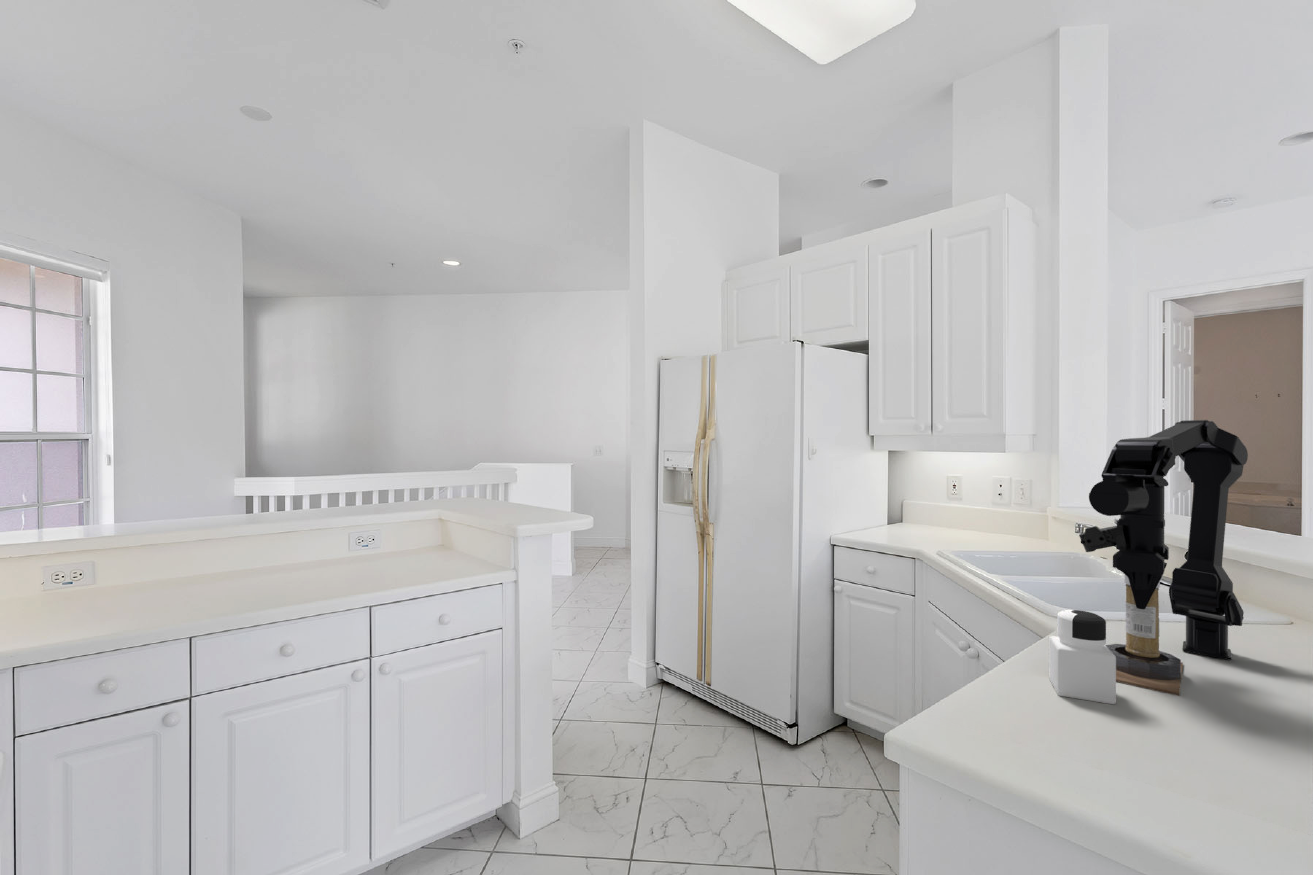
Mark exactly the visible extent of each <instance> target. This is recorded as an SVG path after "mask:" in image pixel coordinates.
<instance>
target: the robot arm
mask: <svg viewBox="0 0 1313 875" xmlns="http://www.w3.org/2000/svg"><path fill="white" fill-rule="evenodd" d="M1177 457H1179V458H1180V459H1181V460H1182V461H1183V471H1184V472H1185V473H1186V475H1187V476H1188V477H1189V479H1190V480H1191V482H1192V483H1193V491H1192V492H1193V493H1192V500H1191V501H1192V504H1191V513H1190V514H1191V515H1190V525H1189V535H1188V545H1187V557H1186V561H1185V562H1184V563H1183V564H1182V565H1180V567H1174V568H1173V571H1172V572H1171V576H1172V577H1171V579H1172V580H1171V583H1170V584H1169V587H1168V595H1169V597H1168V598H1169V600H1170V606H1171V607H1170V608H1171V611H1172V614H1173V615H1179V616H1184V617H1185V640H1184V641H1183V642H1182V651H1183V652H1186V653H1191V654H1197V655H1201V656H1206V657H1207V656H1208V657H1213V658H1218V659H1223V660H1231V661H1232V658H1233V657H1232V651H1231V649H1230V648H1229V626H1230V627H1233V626H1236V627H1241V626H1243V620H1244V619H1245V618H1244V614H1245V612H1244V609H1243V608H1242V606H1241V604H1240V602H1239V600H1238V598H1237V597H1236V594H1235V593H1234V590H1233V589H1234V587H1233V586H1234V585H1233V584H1234V583H1233V580H1232V579H1231V578H1230V577H1229V575H1228V573H1227V572H1226V570H1225V569H1224V567H1223V557H1224V556H1223V555H1224V544H1225V534H1226V525H1227V524H1226V522H1227V510H1228V500H1229V498H1228V497H1229V489H1230V487H1232V486H1233V485H1234V484H1235V483H1236V482H1237V480H1238V479H1240V478H1241V477H1242V475H1243V473H1244V472H1243V471H1244V465H1246V464H1247V462H1248V458H1249V454H1248V449H1247V447H1246V446H1245V445H1244V442H1242V441H1241V439H1240V438H1239V437H1238V436H1237V435H1236V434H1233V433H1231V432H1229V431H1226V430H1225V429H1222V428H1219V427H1218V425H1217V424H1216V423H1215V422H1214V421H1212V420H1211V421H1209V420H1208V419H1197V420H1196V419H1195V420H1193V419H1192V420H1180V421H1177V422H1175V423H1174V425H1172V426H1170V427H1168V428H1166V429H1164V430H1161V431H1159V432H1156V433H1154V434H1152V435H1150V436H1147V437H1133V438H1122V439H1119V440H1118V441H1117V442H1116V443H1115V444H1114V446H1113V447H1112V449H1111V451H1110V454H1109V456H1108V458H1107V461H1106V463H1105V466H1104V468H1103V469H1102V473H1101V478H1102V480H1101V481H1099V482H1097V483H1095V484H1094V485H1093V486H1092V488H1091V490H1090V492H1089V493H1088V500H1089V503H1090V506H1091V508H1093V510H1094V511H1096V512H1097V513H1099V514H1101V515H1104V516H1107V517H1114V516H1119V517H1120V518H1118V520H1116V525H1113V526H1107V527H1103V528H1100V527H1098V526H1097V525H1094V526H1092V527H1086V528H1085V529H1084V532H1081V533H1080V534H1078V535H1079V536H1078V537H1079V538H1080V544H1082V545H1083V547H1084V550H1085V553H1091V552H1095V551H1096V550H1101V549H1107V548H1112V547H1115V548H1116V550H1118V551H1116V552H1115V553H1114V554H1113V555H1112V568H1115V569H1117V570H1118V571H1120V572H1121V573H1122V574H1124V576H1125V575H1126V576H1127V577H1128V579H1129V582H1130V586H1131V589H1132V593H1133V597H1134V600H1135V604H1136V607H1137V608H1138V609H1145V608H1146V606H1147V604H1148V603H1149V601H1150V599H1151V597H1152V595H1153V593H1154V591H1155V589H1156V587H1157V585H1158V583H1159V581H1160V582H1161V579H1162V578H1163V575H1164V574H1165V570H1166V568H1167V565H1168V562H1165V561H1168V560H1169V558H1170V554H1169V553H1170V552H1169V551H1170V549H1169V546H1167V545H1166V544H1165V527H1166V519H1165V487H1168V486H1169V482H1168V480H1167V479H1166V478H1164V477H1167V475H1168V473H1169V471H1170V470H1171V469H1172V468H1173V467H1174V466H1175V465H1176V458H1177ZM1238 481H1239V480H1238Z"/></svg>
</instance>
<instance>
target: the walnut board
mask: <svg viewBox="0 0 1313 875" xmlns="http://www.w3.org/2000/svg"><path fill="white" fill-rule="evenodd" d="M1183 667H1184V663H1183V662H1182V661H1181V675H1180V679H1175V680H1158V679H1148V678H1144V677H1139V676H1135V675H1130V674H1127V673H1124V672H1121V671H1118V670H1116V683H1117V682H1118V683H1122V684H1125V685H1130V686H1135V687H1139V688H1142V689H1148V690H1152V691H1156V692H1157V691H1158V692H1161V693H1165V694H1169V695H1173V696H1177V697H1178V696H1180V691H1181V685H1182V684H1181V683H1182V674H1183Z"/></svg>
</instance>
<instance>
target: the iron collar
mask: <svg viewBox="0 0 1313 875" xmlns="http://www.w3.org/2000/svg"><path fill="white" fill-rule="evenodd" d="M1105 646H1106V647H1107V648H1108V649H1109V650H1110V651H1111V652H1112V653H1113V654H1114V655H1115V656H1116V670H1118V671H1121V672H1124V673H1127V674H1130V675H1135V676H1139V677H1144V678H1148V679H1158V680H1175V679H1180V675H1181V662H1182V661H1181V660H1182V659H1180V658H1178V657H1177V656H1174V655H1173V654H1171V653H1169V652H1165V651H1161V650H1159V653H1160V656H1159V657H1155V658H1148V657H1141V656H1137V655H1134V654H1131V653H1129V652H1127V651H1126V649H1125V647H1126V644H1123V643H1114V644H1113V643H1111V644H1105Z"/></svg>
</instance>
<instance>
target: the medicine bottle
mask: <svg viewBox="0 0 1313 875" xmlns="http://www.w3.org/2000/svg"><path fill="white" fill-rule="evenodd" d="M1056 622H1057V623H1056V625H1057V626H1056V627H1057V630H1056V633H1057V635H1050V636H1049V638H1048V639H1049V641H1048V642H1049V644H1048V646H1049V648H1048V651H1049V652H1048V655H1049V656H1048V659H1049V660H1048V661H1049V662H1048V669H1049V671H1048V673H1049V674H1048V676H1049V677H1048V678H1049V680H1050V682H1051V684H1052V686H1053V688H1054V690H1055V692H1056V694H1057V696H1060V697H1064V698H1065V697H1067V698H1072V699H1079V700H1085V701H1089V702H1096V703H1097V702H1098V703H1102V704H1103V703H1104V704H1108V705H1109V704H1110V705H1115V704H1116V703H1117V697H1116V696H1117V695H1116V694H1117V682H1116V656H1115V655H1114V654H1113V653H1112V652H1111V651H1110V650H1109V649H1108V648H1107V647H1106V645H1107V621H1106V619H1105V618H1103V617H1102V616H1100V615H1099V614H1097V613H1095V612H1089V611H1086V610H1080V609H1079V610H1078V609H1065V610H1061V611H1059V612H1058V613H1057V621H1056Z"/></svg>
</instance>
